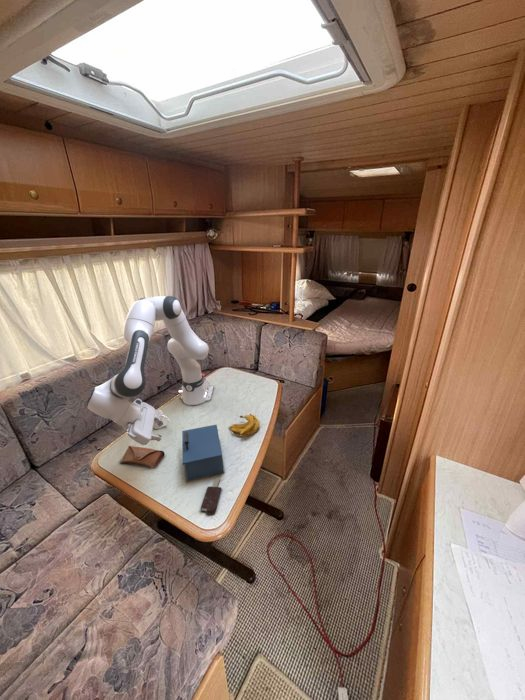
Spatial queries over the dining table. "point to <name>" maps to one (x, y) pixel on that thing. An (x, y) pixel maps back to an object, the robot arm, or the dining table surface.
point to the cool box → (204, 468)
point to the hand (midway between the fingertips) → (161, 431)
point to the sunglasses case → (143, 456)
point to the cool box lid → (200, 444)
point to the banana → (246, 426)
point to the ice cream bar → (211, 498)
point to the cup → (159, 415)
